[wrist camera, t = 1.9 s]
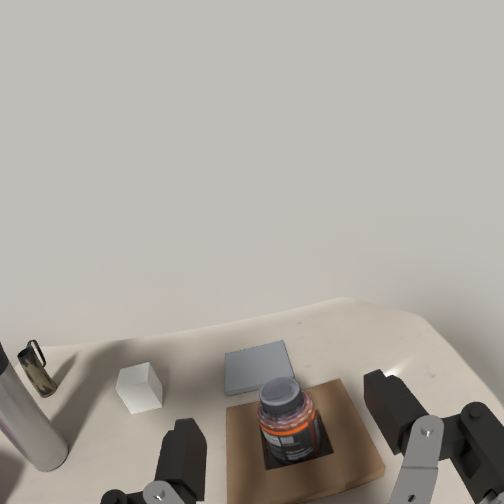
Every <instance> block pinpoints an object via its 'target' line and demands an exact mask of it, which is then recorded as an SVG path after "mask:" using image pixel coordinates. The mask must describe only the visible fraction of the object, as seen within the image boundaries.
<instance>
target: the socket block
mask: <svg viewBox="0 0 504 504" xmlns="http://www.w3.org/2000/svg"><path fill="white" fill-rule="evenodd" d="M303 391H305V392H306V393H308V394H309V395H310V396H311V398H312V400H313V403H314V407H315V411H316V416H317V421H319V420H320V422H321V424H322V427H323V430H324V433H325V435H326V438H327V441H328V444H329V446H330V449H331V452H332V454H330V455H326V456H323V457H320V458H316V459H313V460H309V461H305V462H301V463H297V464H293V465H289V466H285V467H280V468H275V469H270V470H269V468H268V461H267V454H266V447H265V440H264V433H263V431H262V428H261V426H260V423H259V421H258V418H257V407H258V405H259V403H260V401H258V402H254V403H249V404H244V405H239V406H234V407H228V408H226V446H227V504H299V503H303V502H307V501H311V500H315V499H319V498H322V497H326V496H329V495H333V494H336V493H339V492H342V491H345V490H348V489H351V488H354V487H357V486H359V485H362V484H365V483H367V482H370V481H372V480H375V479H377V478H380V477H382V476H383V475H384V471H385V465H384V463H383V461H382V459H381V457H380V455H379V453H378V451H377V449H376V447H375V445H374V443H373V441H372V439H371V437H370V435H369V433H368V431H367V429H366V428H365V426H364V424H363V422H362V420H361V418H360V416H359V414H358V412H357V410H356V408H355V406H354V404H353V403H352V401H351V399H350V397H349V395H348V393H347V391H346V389H345V387H344V386H343V384H342V382H341V380H340V379H337V380H334V381H331V382H328V383H325V384H322V385H319V386H315V387H312V388H309V389H305V390H303Z"/></svg>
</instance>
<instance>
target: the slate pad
mask: <svg viewBox="0 0 504 504" xmlns="http://www.w3.org/2000/svg"><path fill="white" fill-rule="evenodd" d="M279 377H289V378H292V379H294V380H295V378H294V375H293V371H292V368H291V365H290V362H289V359H288V356H287V353H286V350H285V346H284V343H283V340H280V341H276V342H273V343H269V344H265V345H261V346H257V347H253V348H249V349H244V350H240V351H236V352H231V353H227V354H225V394H226V396H229V395H235V394H240V393H245V392H249V391H254V390H258V389H261V388H262V386H263V385H264V384H265V383H267V382H268V381H270V380H272V379H275V378H279Z"/></svg>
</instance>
